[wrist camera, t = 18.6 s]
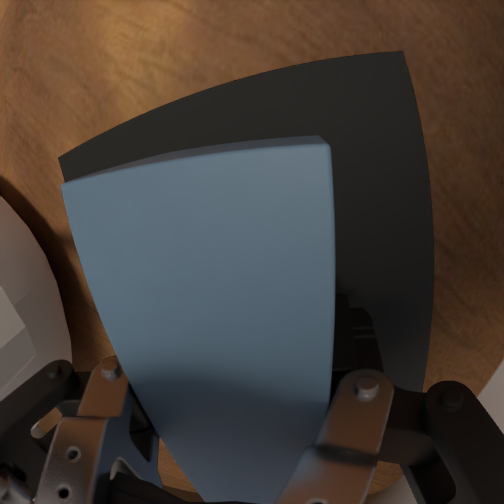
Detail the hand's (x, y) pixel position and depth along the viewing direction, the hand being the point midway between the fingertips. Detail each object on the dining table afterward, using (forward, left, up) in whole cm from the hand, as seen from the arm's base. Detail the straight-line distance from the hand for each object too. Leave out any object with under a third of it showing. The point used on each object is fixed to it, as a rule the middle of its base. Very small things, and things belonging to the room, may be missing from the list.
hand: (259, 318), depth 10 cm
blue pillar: (+1, +8, +2) cm, 8 cm away
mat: (0, +1, -2) cm, 2 cm away
